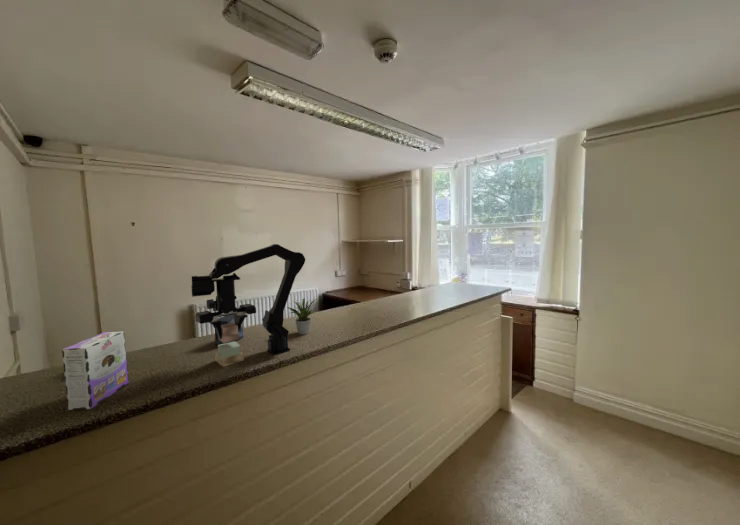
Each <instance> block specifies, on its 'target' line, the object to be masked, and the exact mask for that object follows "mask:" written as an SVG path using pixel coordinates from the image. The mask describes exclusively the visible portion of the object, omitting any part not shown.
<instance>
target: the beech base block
mask: <svg viewBox="0 0 740 525" xmlns="http://www.w3.org/2000/svg"><path fill="white" fill-rule="evenodd" d="M214 356H215V362H217V363H218V364H219V365H220V366H221V367H227V366H230V365H233V364H237V363H241V362H243V361H244V353H243V352H242V351H241V354H239V355H235V356H231V357H227V358H223V359H222V357H221V356H220V355H219V354H218V352H217V353H215V355H214Z"/></svg>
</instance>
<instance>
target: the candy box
mask: <svg viewBox="0 0 740 525" xmlns="http://www.w3.org/2000/svg"><path fill="white" fill-rule="evenodd" d="M125 341H126V340H125V331H123V330H121V331H103V332H102V333H99V334H97V335H94V336H92V337H89V338H87V339H84V340H81V341H79V342H77V343H74V344H72V345H70V346H69V345H68V346H67V347H65V348H62V349H61V353H62V362H63V374H64V382H65V383H64V384H65V391H66V392H65V394H66V403H67V410H68V411H70V410H71V411H74V410H75V411H77V409H83V410H90V409H93V408H94V407H96V406H97V405H99V404H100V403H102V402H103V401H104V400H106V399H107V398H109V397H110V396H112V395H113V394H115V393H116V392H118V391H119V390H120V389H121V388H124V387H125V386H126V385H127V384H129V370H128V361H127V350H126V342H125Z"/></svg>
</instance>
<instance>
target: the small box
mask: <svg viewBox="0 0 740 525" xmlns="http://www.w3.org/2000/svg"><path fill="white" fill-rule="evenodd" d="M218 320H220V321H221V325H224V324H229V323H234V324H235V319H234V315H233V314H232V315H227V316H222V317H218ZM238 338H239V339H238V340H234V341H236V342H237V341H240V340H242V339H244V322H243V323H242V324H241V327H240V329H239V332H238ZM234 341H230V342H234ZM230 342H226V343H230ZM214 344H215V345H217V346H218V345H220V344H225V343H223V342H221V341H220V340H219V339H218V334H217V332H216V330H215V329H214Z"/></svg>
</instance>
